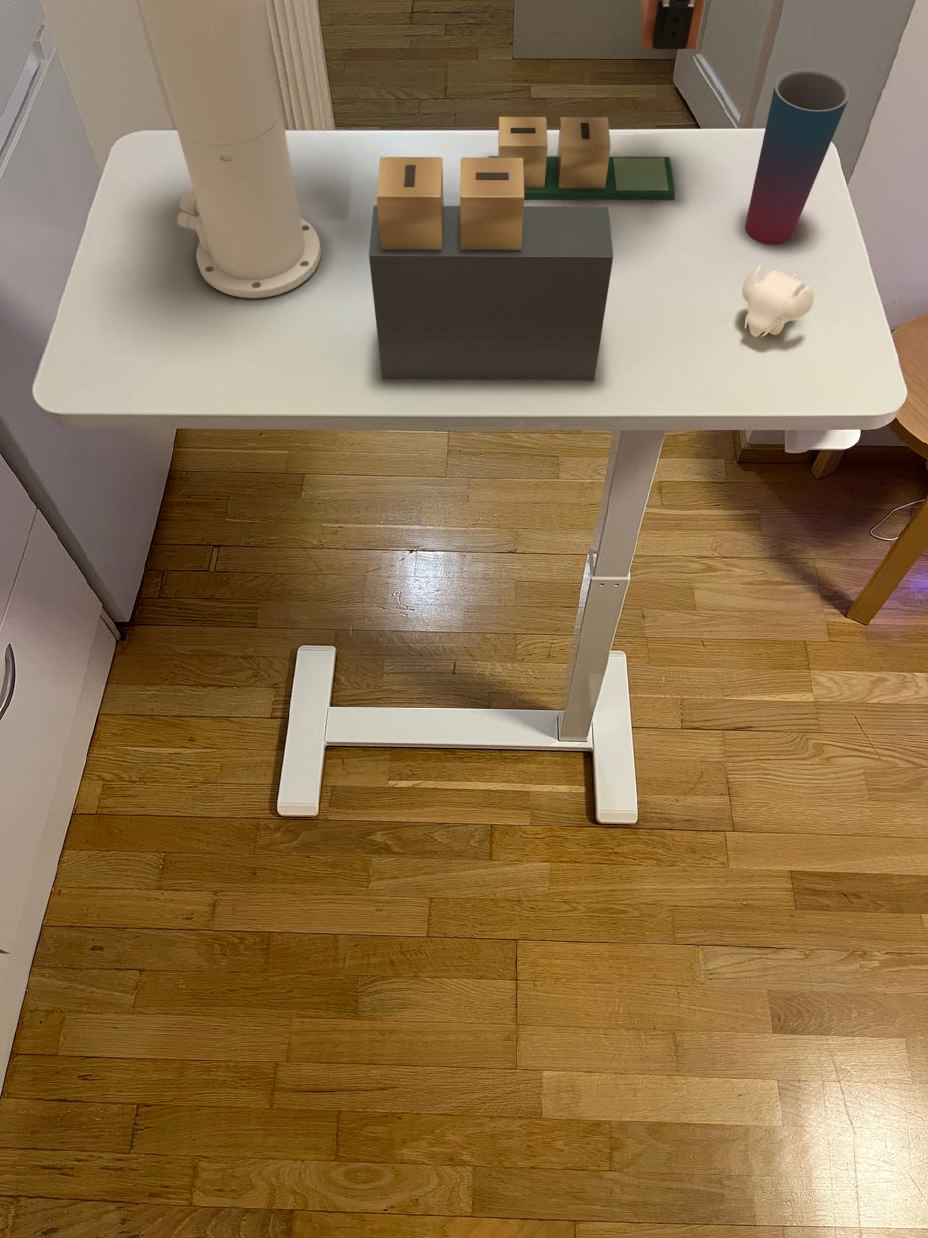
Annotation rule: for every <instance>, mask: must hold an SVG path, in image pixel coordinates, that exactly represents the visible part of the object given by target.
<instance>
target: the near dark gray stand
mask: <svg viewBox="0 0 928 1238" xmlns="http://www.w3.org/2000/svg"><path fill="white" fill-rule="evenodd" d="M443 162H444V161H443V157H442V156H380V157H379V168H378V179H377V189H376V204H377V205H373V209H372V220H371V230H370V231H371V232H370V239H369V252H368V258H369V259H368V260H369V269H370V270H369V271H370V277H371V279H370V280H371V287H372V298H373V305H374V306H373V307H374V315H375V326H376V334H377V344H378V352H379V362H380V363H379V364H380V371H381V379H385V380H387V379H388V380H389V379H390V380H391V379H394V380H396V379H398V380H399V379H400V380H403V379H404V380H518V381H519V380H523V381H525V380H526V381H527V380H529V381H530V380H535V381H536V380H537V381H538V380H539V381H546V380H547V381H561V380H562V381H594V380H595V379H596V372H597V365H598V358H599V353H600V346H601V340H602V339H601V338H602V334H603V333H602V332H603V328H604V319H605V314H606V307H607V300H608V294H609V288H610V281H611V275H612V268H613V261H614V250H613V249H614V248H613V240H612V239H613V238H612V228H611V219H610V209H609V208H610V207H609V206H577V205H576V206H567V205H566V206H563V205H562V206H560V205H559V206H558V205H550V206H545V205H543V206H542V205H541V206H539V205H537V206H536V205H527V206H526V205H525V199H524V168H523V158H489V157H471V156H470V157H467V156H466V157H464V156H463V157H461V158H460V182H459V183H460V184H459V187H460V189H459V205H444V204H445V202H444V201H445V199H444V169H443V168H444V167H443Z"/></svg>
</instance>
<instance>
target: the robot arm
mask: <svg viewBox="0 0 928 1238" xmlns="http://www.w3.org/2000/svg"><path fill="white" fill-rule="evenodd" d="M694 2H695V0H662V1H659V2H658V8H657V15H656V21H655V28H654V34H653V41H652V44H653V48H654V49H653V50H685V49H684V48H686V46H687V43H688V38H689V32H690V27H691V21H692V16H693V10H694V5H695V4H694ZM139 3H140V7H141V11H142V16H143V18H144V22H145V26H146V29H147V32H148V34H149V38H150V42H151V45H152V48H153V52H154V55H155V59H156V62H157V65H158V69H159V73H160V76H161V80H162V83H163V87H164V90H165V94H166V97H167V101H168V102H167V103H168V105H169V108H170V112H171V116H172V119H173V124H174V126H175V128H176V131H177V136H178V139H179V143H180V145H181V150H182V153H183V156H184V160H185V164H186V168H187V172H188V175H189V179H190V183H191V186H192V190H193V193H192V192H189V191H184V192H183V193H182V194H181V195H180V197H179V208H180V210H181V212H179V213H178V215H177V218H176V223H177V225H178V226H179V227H182V228H186V229H189V230H193V231H195V233H196V234H197V236H198V239H199V240H198V241H199V242H198V244H197V247H196V253H195V257H196V262H197V266H198V269H199V272H200V275H201V276H202V278H203V279H204V280H205V282H206V283H208V284H209V285H210V286H211V287H212V288H214V289H216V290H217V291H219V292H221V293H223V294H227V295H229V296H232V297H238V298H245V299H261V298H269V297H273V296H278V295H281V294H284V293H286V292H289V291H291V290H293V289H295V288H296V287H298V286H300V285H302V284H303V283H304V282H305V281H307V280H308V279H309V278H310V277H311V276H312V275H313V274H314V273H315V271H316V270H317V268H318V266H319V263H320V259H321V257H322V248H321V241H320V238H319V235H318V233H317V231H316V230H315V228H314V227H313V225H312V224H311V223H309V222H308V221H307V220H305V219H304V218H303V217H301V213H300V208H299V203H298V196H297V192H296V191H297V190H296V186H295V185H296V184H295V181H294V180H295V179H294V174H293V169H292V162H291V156H290V150H289V145H288V140H287V134H286V128H285V123H284V117H283V111H282V105H281V101H280V96H279V95H280V94H279V90H278V84H277V78H276V72H275V66H274V58H273V52H272V51H273V50H272V44H271V32H270V24H269V22H270V21H269V14H268V13H269V12H268V5H267V0H139ZM194 215H195V216H194ZM196 216H197V217H196Z"/></svg>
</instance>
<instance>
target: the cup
mask: <svg viewBox="0 0 928 1238" xmlns="http://www.w3.org/2000/svg"><path fill="white" fill-rule="evenodd" d="M850 95H851V91H850V88H849V86H848V85H847V83H846V82H845V81H844V80H843V79H842V78H841V77H839V76H837V75H836V74H834V73H831V72H830V71H827V70H823V69H817V68H808V67H804V68H796V69H791V70H788V71H786V72H783V73H782V74H781V75H779V76H778V77H777V79H776V80H775V83H774V87H773V92H772V96H771V100H770V105H769V109H768V114H767V120H766V124H765V129H764V134H763V139H762V144H761V149H760V153H759V158H758V161H757V167H756V172H755V177H754V181H753V186H752V190H751V196H750V201H749V205H748V210H747V215H746V220H745V225H744V227H745V231H746V233H747V234H748V236H750V238H752V239H754V240H755V241H757V242H760V243H763V244H768V245H777V244H782V243H785V242H787V241H788V240H790V239H791V238H792V237H793V235H794V232H795V230H796V228H797V225H798V222H799V221H800V218H801V215H802V213H803V210H804V208H805V206H806V203H807V201H808V199H809V196H810V194H811V191H812V189H813V187H814V184H815V181H816V179H817V177H818V174H819V173H820V169H821V168H822V165H823V162H824V160H825V157H826V155H827V152H828V151H829V148H830V145H831V144H832V141H833V138H834V136H835V133H836V131H837V128H838V126H839V124H840V121H841V119H842V116H843V114H844V111H845V109H846V107H847V104H848V102H849V100H850Z"/></svg>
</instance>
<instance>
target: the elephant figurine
mask: <svg viewBox="0 0 928 1238" xmlns="http://www.w3.org/2000/svg"><path fill="white" fill-rule="evenodd" d="M761 268H762V265H761V264H759V265H756V266H755V267H753V268H751V271H749V273H748V275H747V276H746V277H745V279H744V282H743V285H742V288H741V289H742V291H741V293H742V297H743V300H744V301H745V302H746V303H747V306H748V311H747V315H746V316H745V319H744V320H745V321H744V329H745V330H746V329H747V325H748V328H749V332H750V335H751V336H753V337H755V338H757V337H759V336H760V334H762V333H764V334H762V335H761V336H760V338H763V337H764V336H766V335H767V334H771V335H773V336H777V335H779V334H780V333H781V332H782V330H783V329H784V326H785V324H787V323H788V322H792V321H796V320H798V319H800V318H802V317H804V316H805V315H807V314H808V313H809V312H811V310H812V307H813V304H814V299H815V294H814V293H815V292H814V291H813V288H812V287H811V286H806V287H805V283H804V282H803V281H802V280H800V279H798V278H796V277H795V276H796V274H798V271H797V270H796V271H794V274H793V275H792V276H791V275H789V274H787V273H785V272H782V271H780V270H777V269H773V270H771V271H770V272H769V273H767V275H766V276H765V277H764V278H763V279H762V280H761V281H759V282H758V278H759V275H760V272H761Z"/></svg>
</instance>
